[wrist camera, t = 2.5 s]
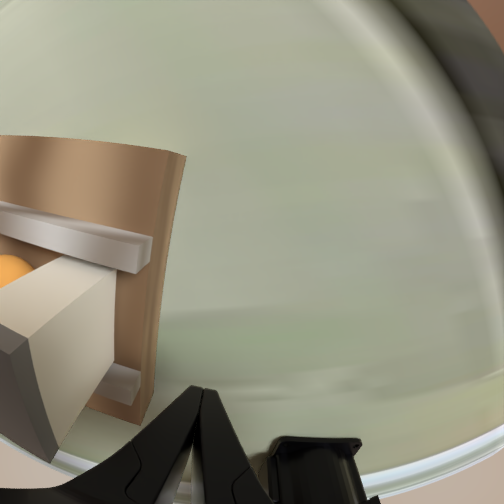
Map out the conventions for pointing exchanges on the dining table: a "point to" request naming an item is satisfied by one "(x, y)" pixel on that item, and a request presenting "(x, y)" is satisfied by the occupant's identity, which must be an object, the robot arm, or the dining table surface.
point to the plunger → (53, 349)
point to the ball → (12, 269)
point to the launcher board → (98, 238)
